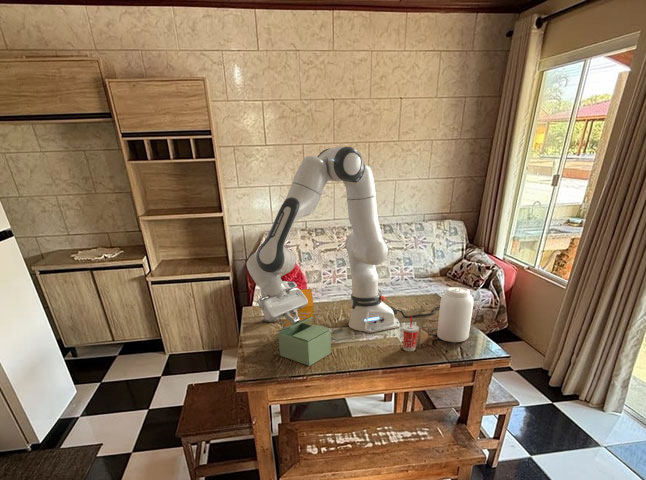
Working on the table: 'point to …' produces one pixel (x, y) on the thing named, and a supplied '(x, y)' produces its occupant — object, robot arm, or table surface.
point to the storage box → (305, 343)
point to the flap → (295, 324)
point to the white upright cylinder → (455, 315)
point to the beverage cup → (410, 336)
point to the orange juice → (305, 309)
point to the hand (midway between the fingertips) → (296, 322)
